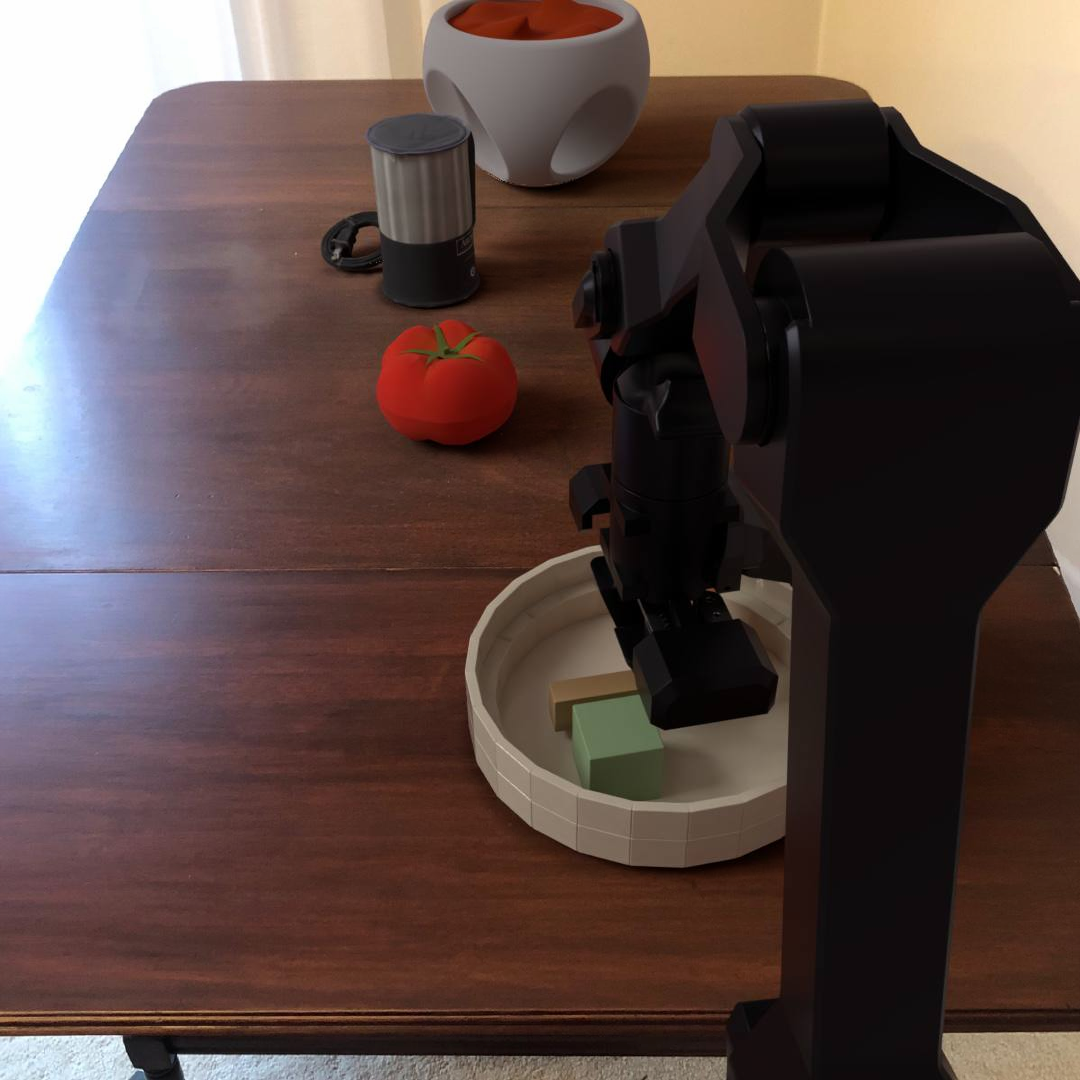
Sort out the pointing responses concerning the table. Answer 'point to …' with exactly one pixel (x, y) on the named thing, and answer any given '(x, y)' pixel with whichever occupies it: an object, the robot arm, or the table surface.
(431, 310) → the table surface
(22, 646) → the table surface
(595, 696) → the long tan beam
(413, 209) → the milk frother
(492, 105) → the pot
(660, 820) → the bowl
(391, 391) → the tomato
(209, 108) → the table surface
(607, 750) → the sage block
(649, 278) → the robot arm
